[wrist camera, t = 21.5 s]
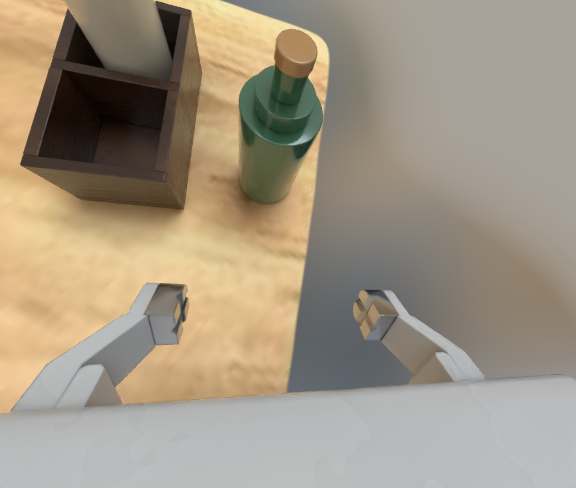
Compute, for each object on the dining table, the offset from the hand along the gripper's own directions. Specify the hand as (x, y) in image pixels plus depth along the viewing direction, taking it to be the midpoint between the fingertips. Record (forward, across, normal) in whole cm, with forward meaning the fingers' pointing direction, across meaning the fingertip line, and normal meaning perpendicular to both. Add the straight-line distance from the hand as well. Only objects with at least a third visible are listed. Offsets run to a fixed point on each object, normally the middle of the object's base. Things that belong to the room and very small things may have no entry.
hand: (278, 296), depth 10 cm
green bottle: (+17, 0, 0) cm, 17 cm away
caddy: (+20, +12, -3) cm, 23 cm away
